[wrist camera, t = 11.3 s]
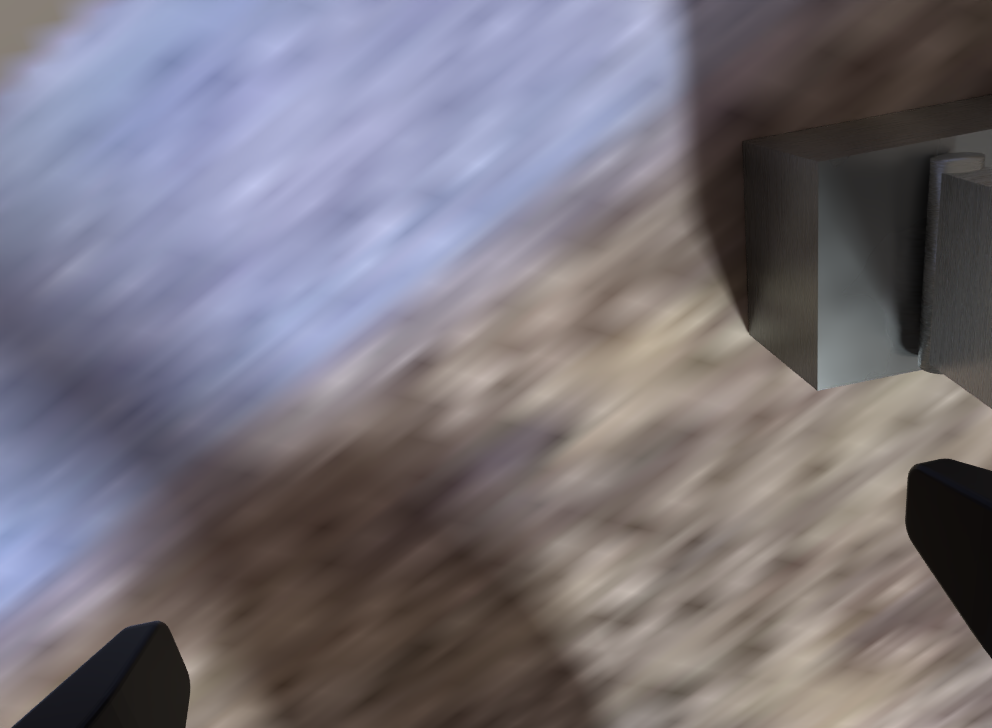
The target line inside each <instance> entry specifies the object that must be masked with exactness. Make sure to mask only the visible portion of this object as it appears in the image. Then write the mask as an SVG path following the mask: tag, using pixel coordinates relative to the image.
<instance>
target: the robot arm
mask: <svg viewBox="0 0 992 728" xmlns="http://www.w3.org/2000/svg"><path fill="white" fill-rule="evenodd" d="M905 524H906V529H907V533H908V535H909V538H910V540H911V542H912V543H913V545H914V546H915V548H916V549H917V551H918V552H919V554H920V555H921V557H922V558H923V560H924V561H925V563H926V564H927V566H928V567H929V569H930V570H931V572H932V573H933V575H934V576H935V578H936V579H937V581H938V582H939V584H940V585H941V587H942V588H943V590H944V591H945V593H946V594H947V595H948V597H949V598H950V600H951V601H952V603H953V604H954V606H955V607H956V609H957V610H958V612H959V613H960V615H961V616H962V618H963V619H964V621H965V622H966V624H967V625H968V627H969V628H970V630H971V631H972V633H973V634H974V635H975V637H976V638H977V640H978V641H979V642H980V644H981V645H982V647H983V648H984V649H985V650H986V652H987V653H988V654H989V656H990V657H991V658H992V471H990V470H987V469H983V468H980V467H976V466H973V465H969V464H966V463H962V462H959V461H955V460H952V459H938V460H934V461H929V462H924V463H919V464H916V465H914V466H913V467H912V468H911V469H910V471H909V473H908V482H907V499H906V516H905ZM189 698H190V679H189V674H188V671H187V669H186V666H185V664H184V662H183V659H182V657H181V655H180V652H179V650H178V648H177V645H176V643H175V641H174V638H173V636H172V634H171V631H170V630H169V628H168V626H167V625H166V624H165V623H163V622H161V621H153V622H148V623H143V624H139V625H134V626H130V627H127V628H125V629H123V630H122V631H121V632H120V633H119V634H117V635H116V636H115V637H114V638H113V639H112V640H111V641H109V642H108V643H107V644H106V645H105V646H104V647H103V648H102V649H100V650H99V651H98V652H97V653H96V654H95V655H94V656H92V657H91V658H90V659H89V660H88V661H87V662H86V663H84V664H83V665H82V666H81V667H80V668H79V669H78V670H76V671H75V672H74V673H73V674H72V675H71V676H70V677H68V678H67V679H66V680H65V681H64V682H63V683H62V684H60V685H59V686H58V687H57V688H56V689H55V690H54V691H52V692H51V693H50V694H49V695H48V696H47V697H46V698H45V699H43V700H42V701H41V702H40V703H39V704H38V705H37V706H35V707H34V708H33V709H32V710H31V711H30V712H29V713H27V714H26V715H25V716H24V717H23V718H22V719H21V720H19V721H18V722H17V723H16V724H15V725H14V726H13V727H11V728H185V727H186V720H187V712H188V705H189Z"/></svg>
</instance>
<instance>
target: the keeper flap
mask: <svg viewBox="0 0 992 728" xmlns="http://www.w3.org/2000/svg"><path fill="white" fill-rule="evenodd" d="M918 366H919V368H921V369H922V370H924V371H927V372H930V373H935V374H944V375H945V376H947V377H948V378H950V379H951V380H952V381H954V382H955V383H957V384H958V385H959V386H961V387H962V388H964V389H965V390H966V391H968V392H969V393H971V394H972V395H973V396H975V397H976V398H977V399H979V400H980V401H982V402H983V403H984V404H986V405H987V406H989V407H990V408H991V409H992V168H990V167H986V166H985V154H982V153H976V152H957V153H948V154H942V155H937V156H934V157H932V158H931V159H930V175H929V191H928V207H927V223H926V239H925V255H924V271H923V287H922V303H921V319H920V335H919V351H918Z"/></svg>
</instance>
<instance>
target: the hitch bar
mask: <svg viewBox="0 0 992 728" xmlns="http://www.w3.org/2000/svg"><path fill="white" fill-rule="evenodd" d="M957 152H976V153H982V154H985V166H986V167H990V168H992V95H987V96H982V97H976V98H971V99H966V100H960V101H955V102H950V103H944V104H939V105H934V106H928V107H923V108H918V109H913V110H907V111H902V112H897V113H891V114H886V115H881V116H875V117H870V118H865V119H859V120H854V121H849V122H843V123H838V124H833V125H828V126H822V127H817V128H812V129H806V130H801V131H796V132H790V133H785V134H780V135H774V136H769V137H764V138H758V139H753V140H748V141H743V166H744V195H745V225H746V254H747V283H748V313H749V335H750V336H752V337H753V338H754V339H755V340H756V341H758V342H759V343H760V344H761V345H763V346H764V347H765V348H766V349H767V350H769V351H770V352H771V353H772V354H773V355H775V356H776V357H777V358H778V359H780V360H781V361H782V362H783V363H784V364H786V365H787V366H788V367H789V368H790V369H792V370H793V371H794V372H795V373H797V374H798V375H799V376H800V377H801V378H803V379H804V380H805V381H806V382H807V383H809V384H810V385H811V386H812V387H814V388H815V389H816V390H817V391H819V390H824V389H829V388H833V387H838V386H843V385H848V384H853V383H858V382H863V381H868V380H873V379H878V378H883V377H888V376H893V375H898V374H903V373H908V372H913V371H918V370H922V369H921V368H919V366H918V351H919V335H920V319H921V303H922V287H923V271H924V255H925V239H926V223H927V207H928V191H929V175H930V159H931V158H932V157H934V156H937V155H942V154H948V153H957Z"/></svg>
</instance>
